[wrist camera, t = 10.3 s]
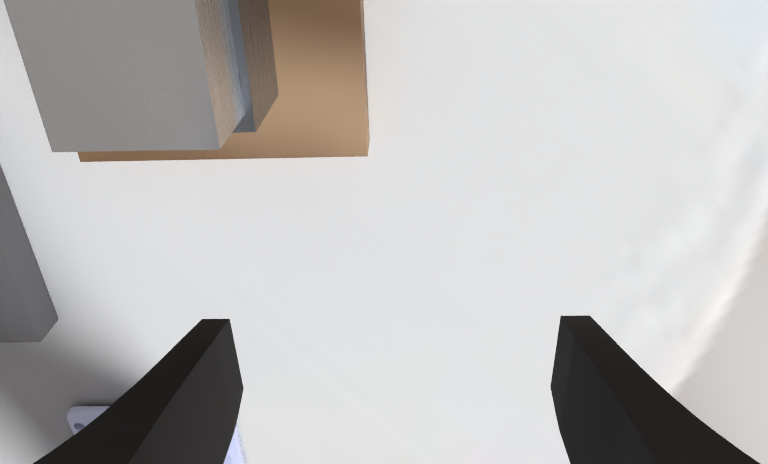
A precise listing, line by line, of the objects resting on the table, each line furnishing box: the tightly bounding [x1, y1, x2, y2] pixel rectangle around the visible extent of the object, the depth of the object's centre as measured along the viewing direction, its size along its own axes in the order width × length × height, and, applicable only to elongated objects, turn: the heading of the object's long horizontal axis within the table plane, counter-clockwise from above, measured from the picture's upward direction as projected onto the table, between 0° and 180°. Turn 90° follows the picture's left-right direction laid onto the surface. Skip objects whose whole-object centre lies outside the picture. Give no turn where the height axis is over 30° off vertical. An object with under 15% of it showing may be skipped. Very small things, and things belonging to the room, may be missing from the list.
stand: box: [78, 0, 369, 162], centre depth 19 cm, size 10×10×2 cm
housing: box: [4, 0, 279, 152], centre depth 15 cm, size 6×4×6 cm
